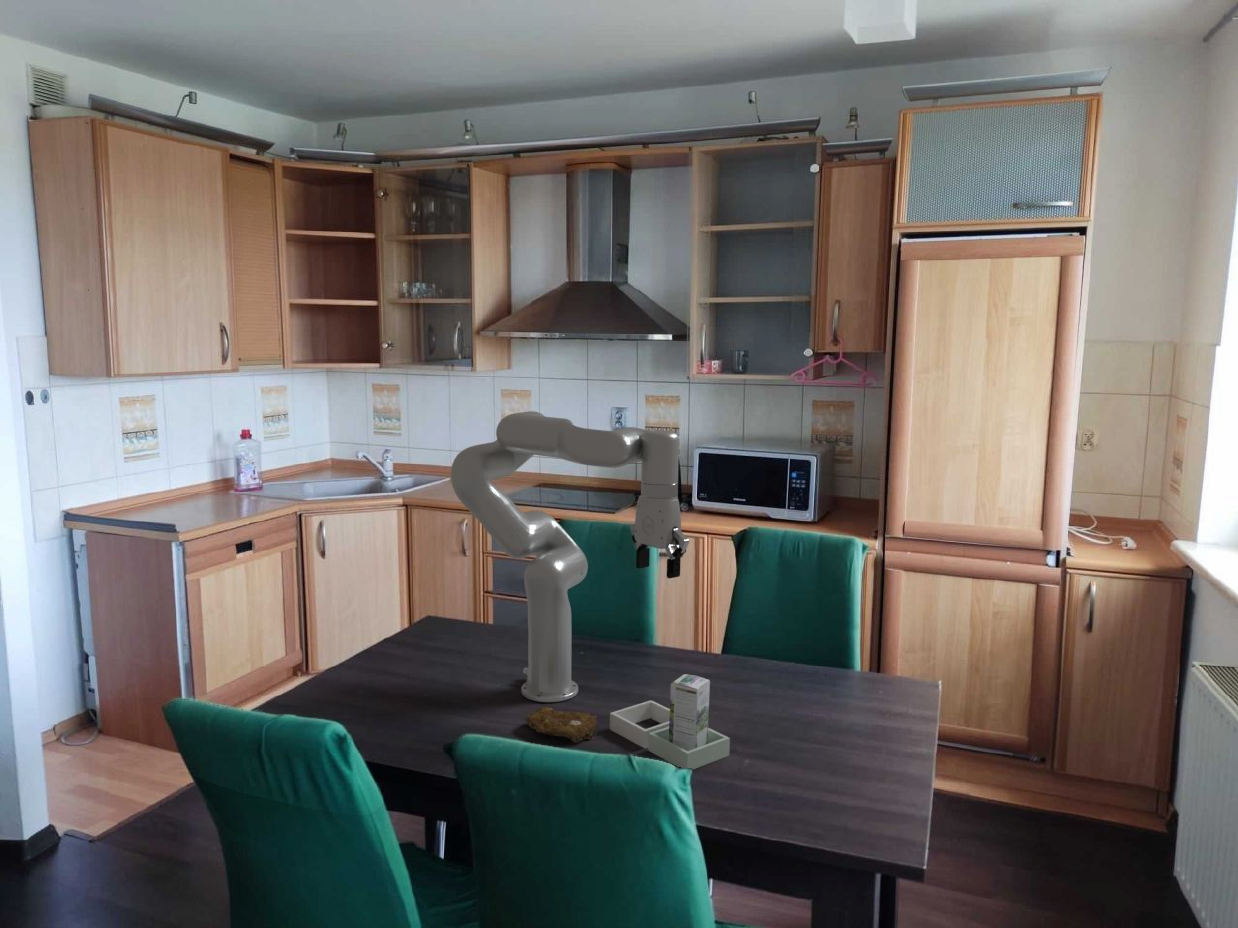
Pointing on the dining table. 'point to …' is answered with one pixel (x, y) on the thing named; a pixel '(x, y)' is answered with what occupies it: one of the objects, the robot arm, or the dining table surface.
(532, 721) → the decorative rock
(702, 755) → the bin
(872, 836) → the dining table surface
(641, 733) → the bin
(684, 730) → the syrup box
